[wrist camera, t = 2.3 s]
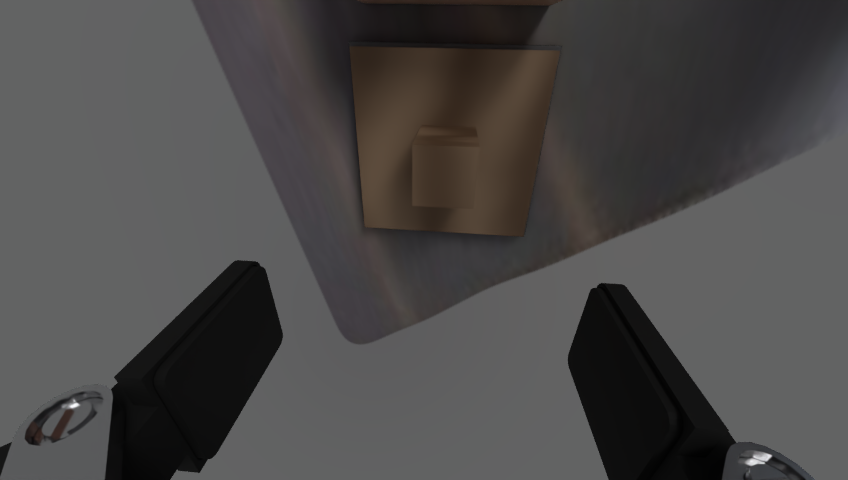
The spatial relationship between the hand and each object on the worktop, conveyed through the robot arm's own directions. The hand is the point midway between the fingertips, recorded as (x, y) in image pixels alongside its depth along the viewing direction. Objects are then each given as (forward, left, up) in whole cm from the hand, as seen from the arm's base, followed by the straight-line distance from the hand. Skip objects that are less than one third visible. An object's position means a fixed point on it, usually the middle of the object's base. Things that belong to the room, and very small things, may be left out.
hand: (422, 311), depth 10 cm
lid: (0, 0, -16) cm, 16 cm away
